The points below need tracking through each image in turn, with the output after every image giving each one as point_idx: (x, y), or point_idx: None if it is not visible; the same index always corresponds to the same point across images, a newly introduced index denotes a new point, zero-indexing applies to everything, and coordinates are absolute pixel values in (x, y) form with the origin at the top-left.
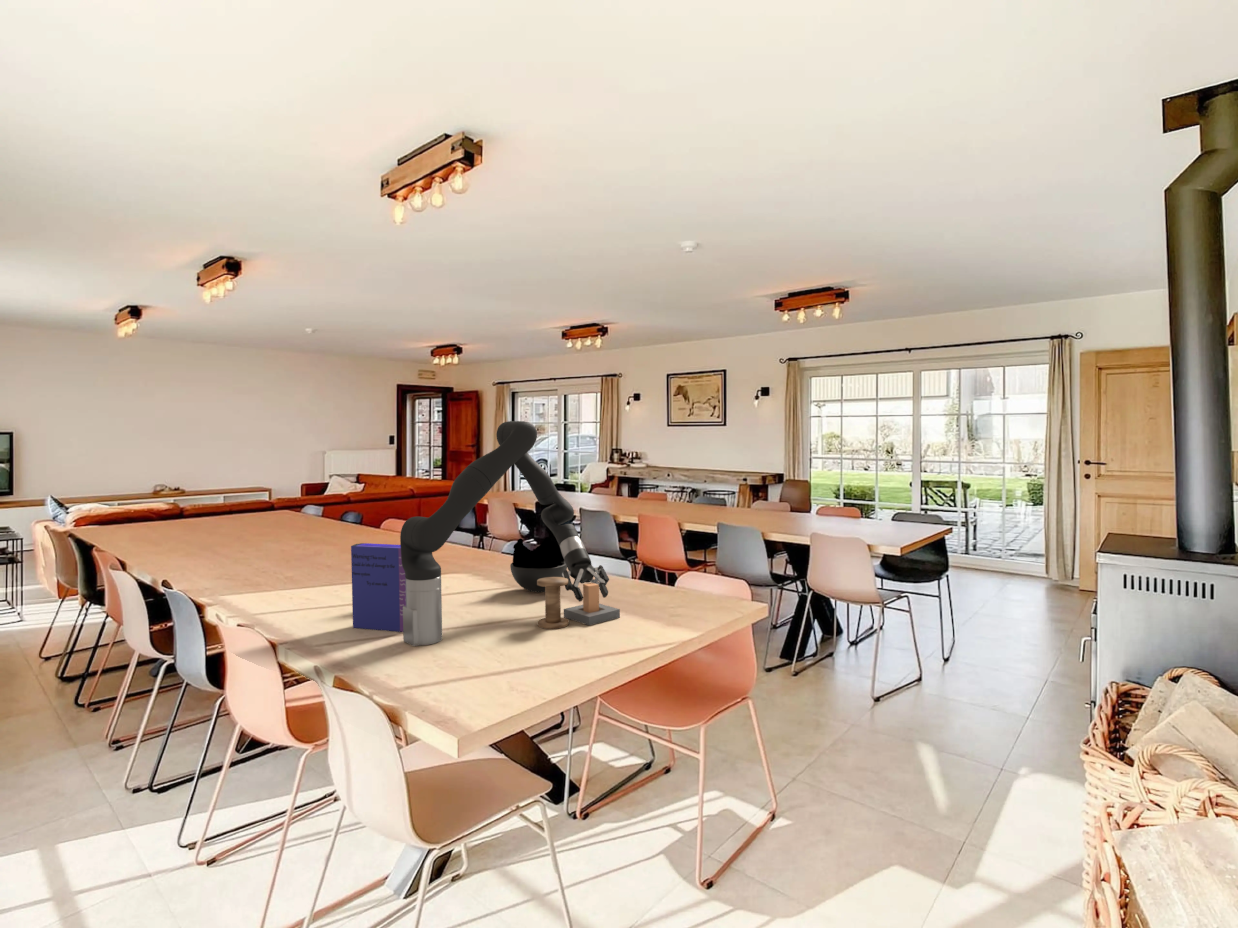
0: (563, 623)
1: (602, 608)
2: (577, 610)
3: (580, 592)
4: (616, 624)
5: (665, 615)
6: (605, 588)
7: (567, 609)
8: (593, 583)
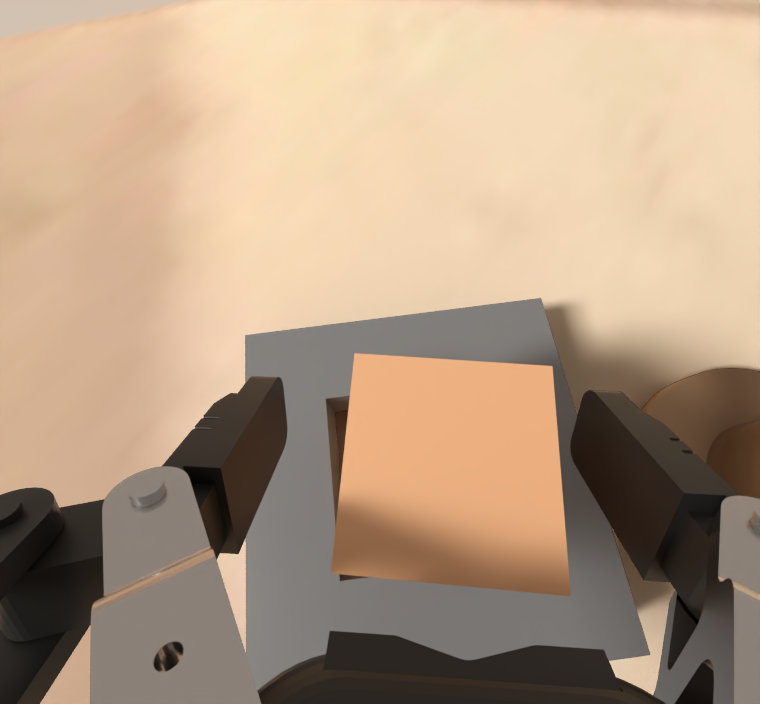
0: (704, 383)
1: (329, 437)
2: None
3: (639, 429)
4: (374, 256)
5: (45, 242)
6: (228, 410)
7: (619, 608)
8: (368, 504)
